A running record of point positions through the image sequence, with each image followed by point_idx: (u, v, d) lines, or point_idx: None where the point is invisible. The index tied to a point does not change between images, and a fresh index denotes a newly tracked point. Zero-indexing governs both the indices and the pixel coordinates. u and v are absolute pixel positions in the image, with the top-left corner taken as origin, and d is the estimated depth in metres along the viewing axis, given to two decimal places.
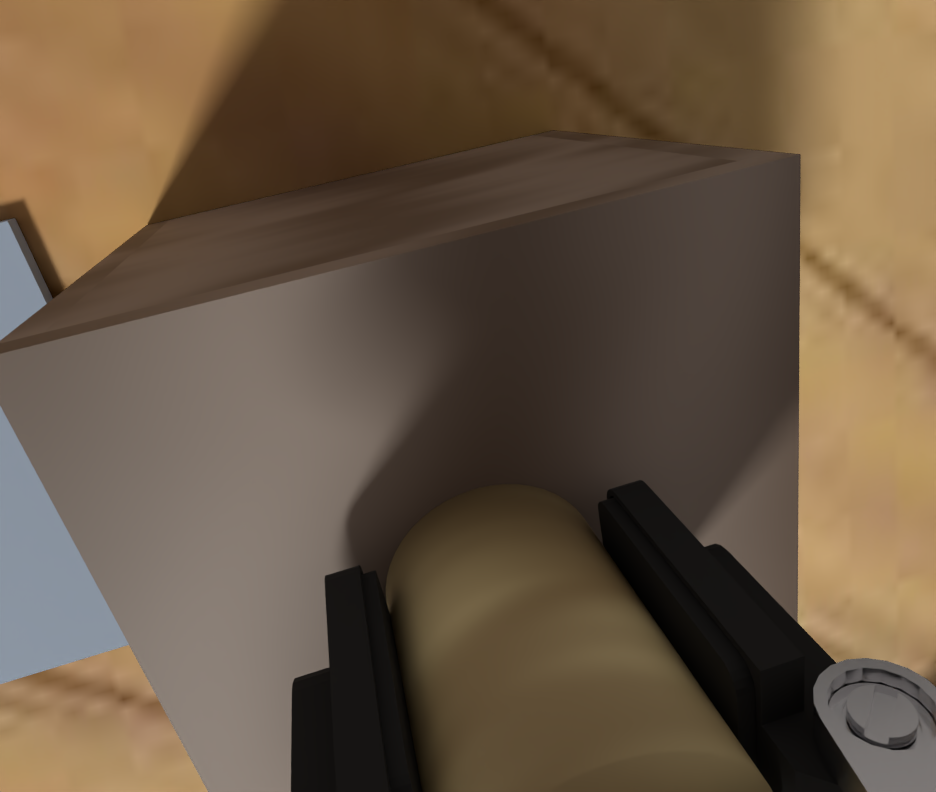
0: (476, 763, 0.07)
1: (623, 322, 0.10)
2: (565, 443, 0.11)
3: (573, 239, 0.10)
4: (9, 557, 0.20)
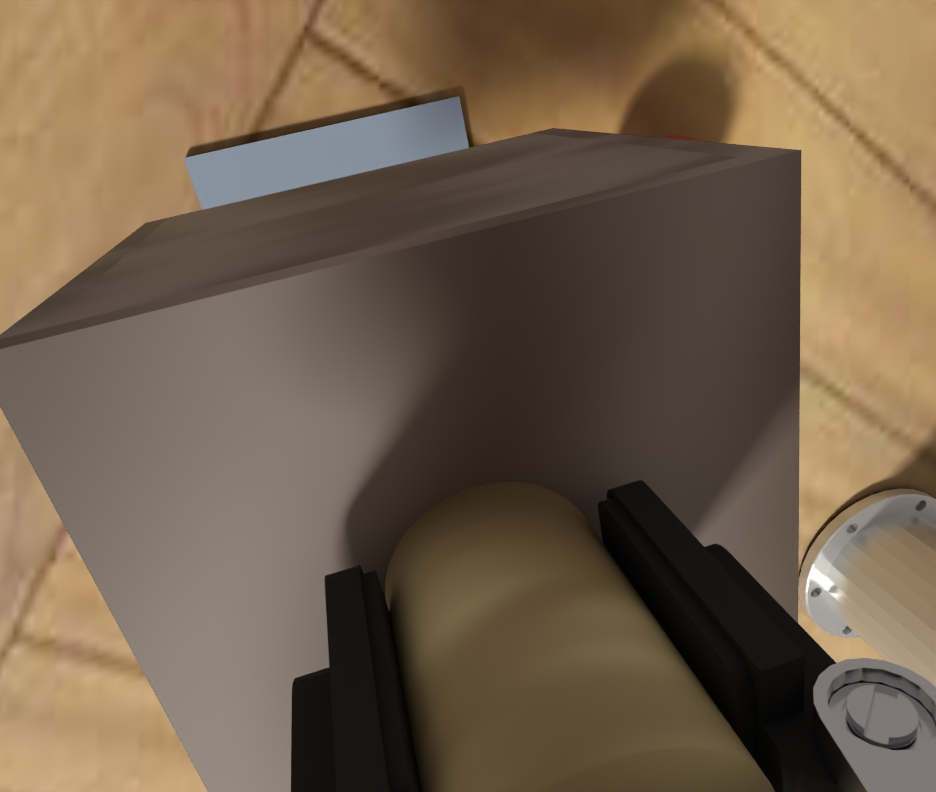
0: (475, 760, 0.07)
1: (623, 319, 0.10)
2: (564, 441, 0.11)
3: (573, 235, 0.10)
4: None
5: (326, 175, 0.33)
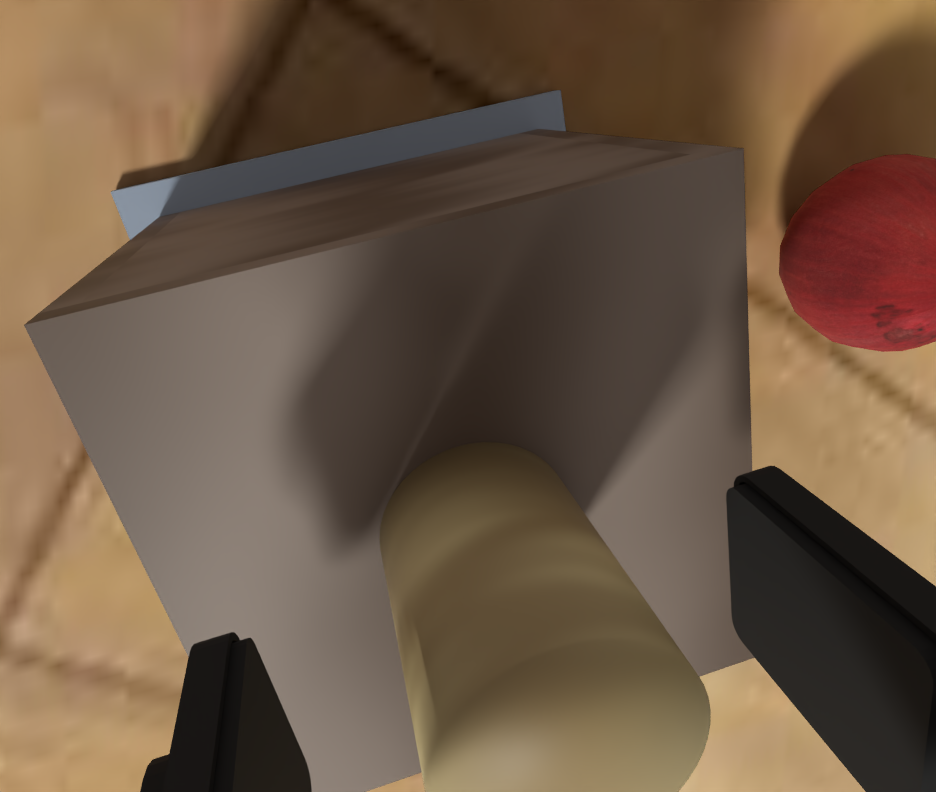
0: (452, 655, 0.08)
1: (589, 296, 0.12)
2: (538, 405, 0.12)
3: (543, 222, 0.11)
4: None
5: None
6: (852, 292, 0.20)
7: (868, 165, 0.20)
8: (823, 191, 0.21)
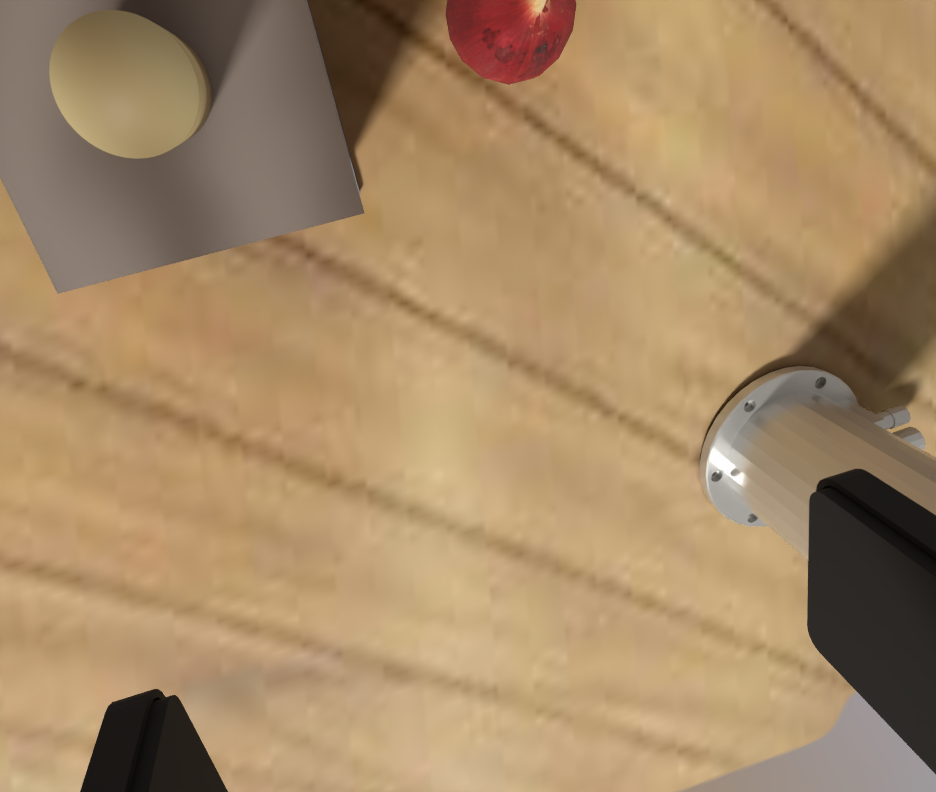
0: None
1: None
2: (176, 5, 0.22)
3: None
4: None
5: None
6: (469, 24, 0.30)
7: None
8: None
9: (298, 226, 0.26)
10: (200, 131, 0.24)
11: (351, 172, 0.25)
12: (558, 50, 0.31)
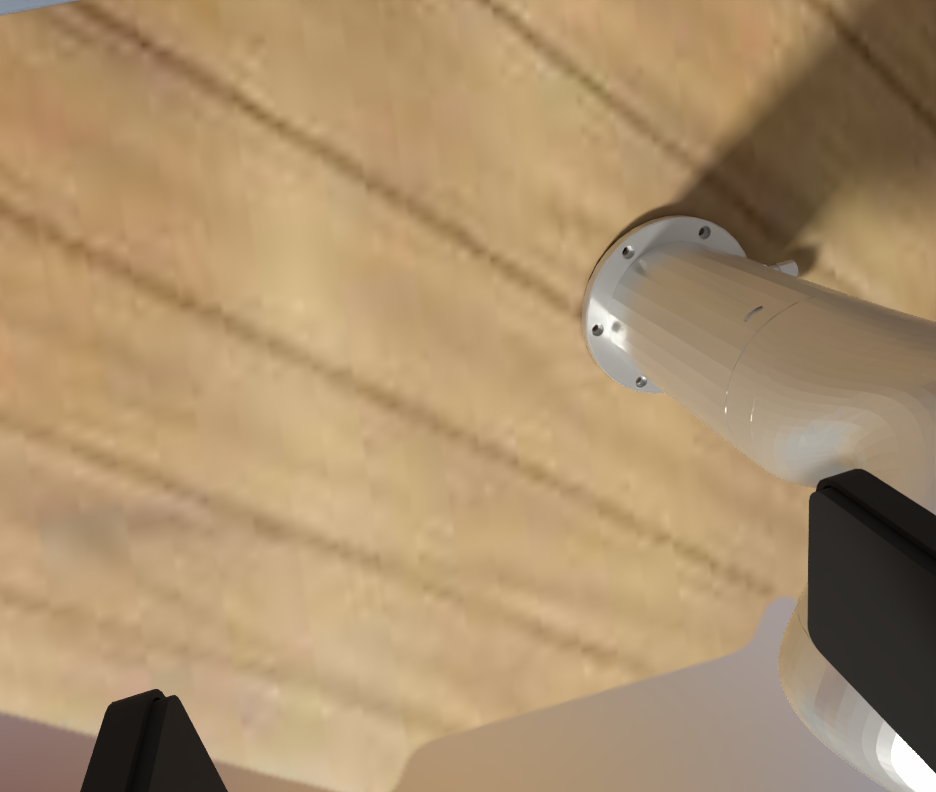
0: None
1: None
2: None
3: None
4: None
5: None
6: None
7: None
8: None
9: None
10: None
11: None
12: None
